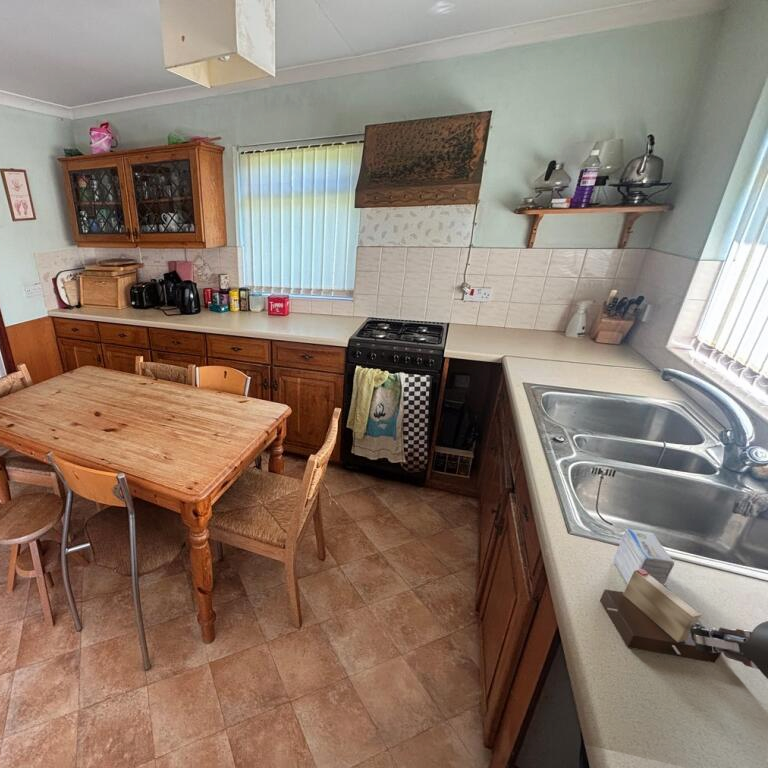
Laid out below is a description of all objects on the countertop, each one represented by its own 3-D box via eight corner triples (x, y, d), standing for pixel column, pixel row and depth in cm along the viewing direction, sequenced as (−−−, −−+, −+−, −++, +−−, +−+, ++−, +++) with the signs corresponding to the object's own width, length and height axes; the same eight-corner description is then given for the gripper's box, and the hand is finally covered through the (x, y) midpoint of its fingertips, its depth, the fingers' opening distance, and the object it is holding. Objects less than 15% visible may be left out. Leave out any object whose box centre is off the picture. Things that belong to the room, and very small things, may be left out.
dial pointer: (686, 640, 66) (702, 614, 64) (677, 642, 66) (693, 615, 63) (630, 593, 74) (642, 567, 72) (622, 594, 74) (634, 569, 71)
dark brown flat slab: (668, 602, 76) (675, 590, 74) (725, 676, 64) (734, 663, 63) (584, 589, 79) (589, 577, 77) (623, 657, 67) (629, 645, 66)
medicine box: (658, 598, 76) (676, 563, 73) (629, 591, 78) (645, 557, 74) (638, 565, 83) (653, 532, 80) (611, 560, 85) (625, 527, 81)
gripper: (763, 696, 42) (647, 655, 58) (934, 728, 40) (763, 676, 55) (744, 614, 45) (638, 597, 61) (904, 640, 42) (748, 614, 58)
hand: (698, 634), depth 58 cm, fingers closed
